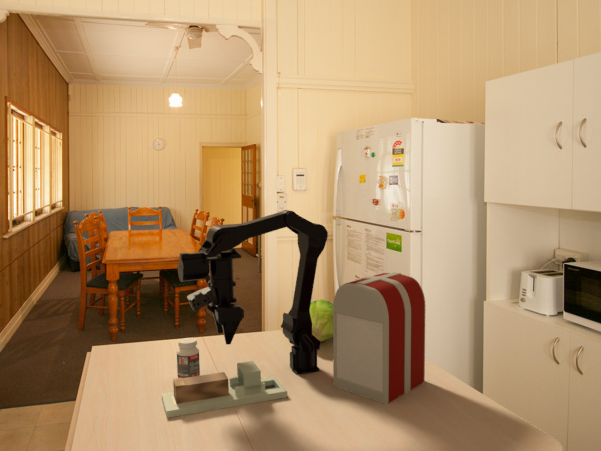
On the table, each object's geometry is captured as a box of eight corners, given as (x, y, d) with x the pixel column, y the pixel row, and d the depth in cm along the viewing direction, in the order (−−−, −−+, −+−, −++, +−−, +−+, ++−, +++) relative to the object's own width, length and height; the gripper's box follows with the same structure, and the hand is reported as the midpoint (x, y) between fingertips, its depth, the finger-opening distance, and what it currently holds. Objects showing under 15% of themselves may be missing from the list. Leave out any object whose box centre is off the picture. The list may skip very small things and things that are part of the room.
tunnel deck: (274, 381, 136) (274, 355, 135) (287, 397, 126) (287, 369, 126) (161, 399, 126) (160, 371, 125) (166, 417, 117) (165, 388, 116)
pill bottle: (194, 382, 136) (193, 344, 135) (174, 381, 137) (172, 343, 136) (203, 373, 141) (201, 337, 140) (183, 372, 143) (181, 336, 141)
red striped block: (426, 381, 135) (427, 276, 132) (387, 404, 122) (387, 288, 119) (372, 365, 146) (372, 268, 143) (331, 385, 133) (330, 278, 130)
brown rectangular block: (224, 387, 128) (224, 371, 128) (228, 395, 124) (228, 378, 124) (173, 396, 124) (173, 378, 124) (176, 404, 120) (175, 386, 120)
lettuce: (291, 352, 157) (290, 313, 156) (304, 328, 179) (303, 294, 178) (335, 354, 155) (334, 315, 153) (342, 330, 177) (342, 295, 176)
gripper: (183, 273, 137) (185, 331, 139) (195, 288, 120) (198, 355, 122) (225, 269, 141) (228, 326, 143) (243, 283, 124) (245, 348, 125)
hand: (224, 338), depth 133 cm, fingers open, 9 cm apart
